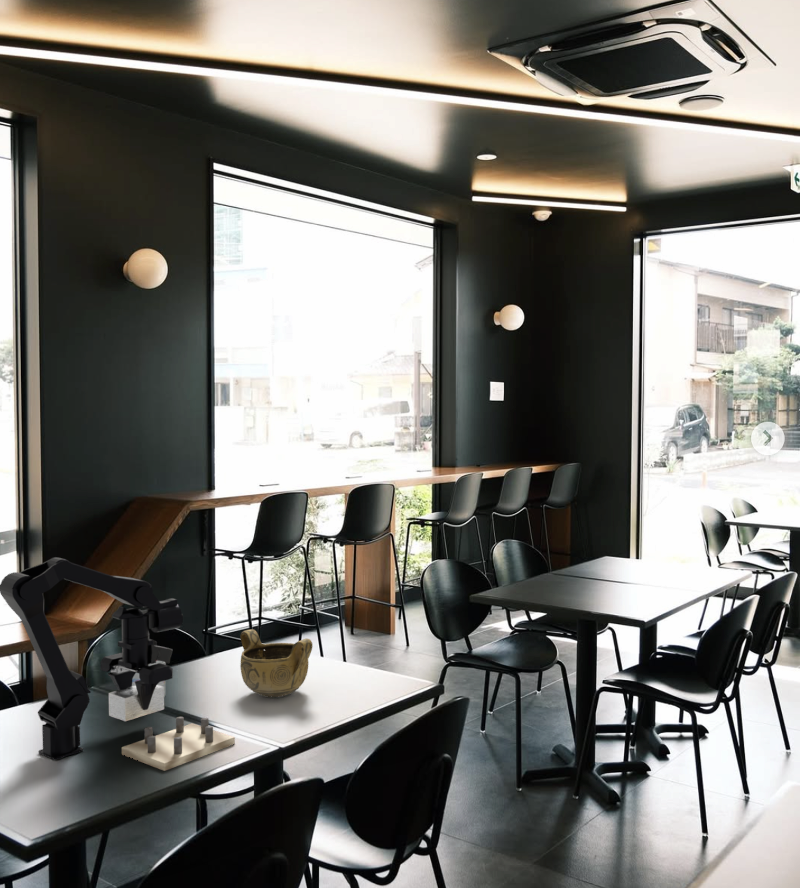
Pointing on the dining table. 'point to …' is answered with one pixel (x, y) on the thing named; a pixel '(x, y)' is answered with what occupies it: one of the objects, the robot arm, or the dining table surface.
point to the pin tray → (168, 747)
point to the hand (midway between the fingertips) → (136, 706)
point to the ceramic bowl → (273, 665)
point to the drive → (133, 703)
